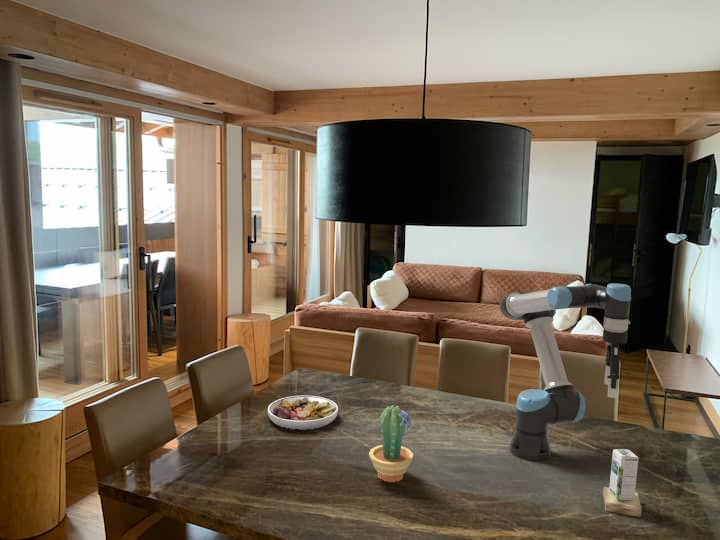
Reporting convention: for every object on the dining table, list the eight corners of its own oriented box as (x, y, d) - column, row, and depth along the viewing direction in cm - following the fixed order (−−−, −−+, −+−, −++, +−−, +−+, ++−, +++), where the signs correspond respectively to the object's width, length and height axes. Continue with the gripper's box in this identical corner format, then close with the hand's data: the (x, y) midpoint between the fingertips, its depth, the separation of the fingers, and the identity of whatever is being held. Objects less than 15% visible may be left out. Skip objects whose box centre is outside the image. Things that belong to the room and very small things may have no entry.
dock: (605, 511, 179) (606, 502, 179) (602, 495, 189) (603, 486, 188) (640, 517, 176) (641, 508, 176) (636, 501, 186) (637, 492, 185)
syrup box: (608, 491, 185) (611, 448, 183) (625, 491, 186) (629, 448, 184) (617, 500, 180) (621, 456, 178) (635, 500, 180) (639, 456, 178)
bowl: (300, 401, 269) (300, 384, 268) (351, 416, 251) (352, 399, 250) (253, 420, 245) (252, 403, 244) (306, 439, 227) (306, 420, 226)
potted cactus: (384, 491, 188) (386, 418, 185) (359, 471, 201) (361, 403, 198) (421, 479, 196) (424, 409, 193) (395, 461, 209) (397, 395, 206)
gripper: (632, 339, 180) (626, 404, 183) (623, 323, 204) (618, 380, 207) (606, 337, 183) (601, 401, 186) (600, 321, 206) (596, 378, 209)
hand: (610, 390), depth 196 cm, fingers open, 13 cm apart
